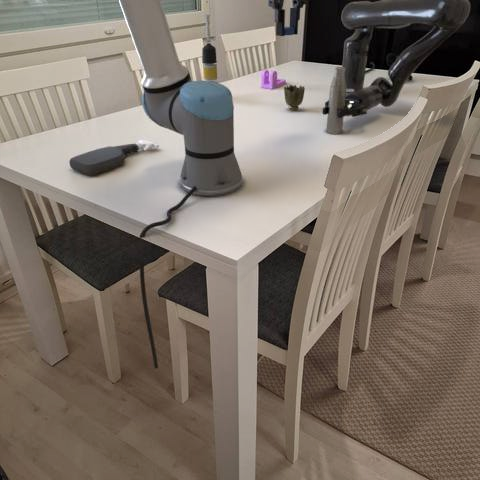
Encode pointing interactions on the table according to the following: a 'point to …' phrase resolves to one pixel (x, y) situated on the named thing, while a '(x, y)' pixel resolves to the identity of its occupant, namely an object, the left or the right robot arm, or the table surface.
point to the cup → (294, 96)
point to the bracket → (271, 80)
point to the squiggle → (392, 61)
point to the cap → (289, 31)
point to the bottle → (336, 101)
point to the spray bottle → (106, 157)
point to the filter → (209, 57)
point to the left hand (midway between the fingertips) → (286, 34)
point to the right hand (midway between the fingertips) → (331, 112)
